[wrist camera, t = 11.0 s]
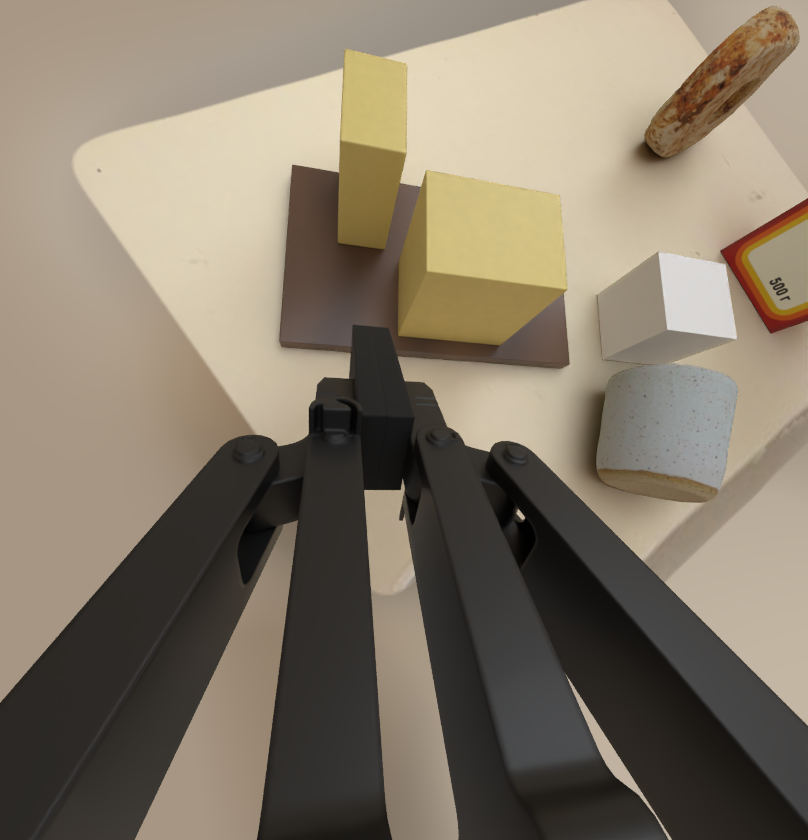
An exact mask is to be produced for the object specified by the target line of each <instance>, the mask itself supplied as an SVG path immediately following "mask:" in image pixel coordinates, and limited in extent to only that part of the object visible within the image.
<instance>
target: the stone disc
mask: <svg viewBox="0 0 808 840" xmlns="http://www.w3.org/2000/svg"><path fill="white" fill-rule="evenodd" d="M798 43H799V31H798V27H797V24H796V22H795V21H794V19H793V18H792V16H791V15H790V14H789V13H788V12H787V11H786V10H784V9H782V8H780V7H777V6H770V7H768V8H766V9H764V10H762V11H761V12H759V13H758V14H756V15H755V16H753V17H752V18H751V19H749V20H748V21H747V22H746V23H745V24H743V25H742V26H740V27H739V28H738V29H737V30H736V31H734V32H733V33H732V34H731V35H730V36H729V37H728V38H727V39H726V40H725V41H724V42H723V43H722V44H720V46H718V47H717V48H716V49H715V50H714V51H713V52H712V53H711V54H710V55H709V56H708V57H707V58H706V59H705V60H704V61H703V62H702V63H701V64H700V65H699V66H698V67H697V68H696V69H695V71H694V72H693V73H692V74H691V75H690V76H689V77H688V78H687V79H686V81H685V82H684V83H683V84H682V86H681V87H680V88H679V89H678V90H677V91H676V92H675V93H674V94H673V95H672V96H671V97H670V98H669V99H668V100H667V101H666V102H665V103H664V104H663V106H662V107H661V108H660V109H659V110H658V112H657V113H656V115H655V116H654V117H653V119H652V120H651V124H650V125H649V127H648V128H647V130H646V132H645V140H646V142H647V144H648V145H649V146H650V147H651V148H652V150H653V151H654V152H655V153H657V154H658V155H659V156H661V157H670V156H673V155H675V154H677V153H680V152H682V151H683V150H685V149H687V148H688V147H690V146H692V145H693V144H695V143H696V142H698V141H699V140H701V139H702V138H704V137H705V136H706V135H707V134H709V133H710V132H711V131H712V130H713V129H714V128H715V127H717V126H718V125H719V124H721V123H722V122H723V121H724V120H725V119H727V118H728V117H729V116H730V115H731V114H733V113H734V111H735V110H736V109H737V108H738V107H739V106H740V105H741V104H743V103H744V102H745V101H746V100H747V99H748V98H749V97H750V96H751V95H752V94H753V93H754V92H755V91H756V90H757V89H758V88H759V87H760V86H761V84H762V83H763V82H764V81H765V80H766V79H767V78H768V77H769V76H770V74H771V73H772V72H773V71H774V70H775V69H776V68H777V67H778V66H779V65H780V64H781V63H782V62H783V61H784V60H785V59H786V58H787V57H788V56H789V55H790V54H791V53H792V52H793V51H794V50H795V48H796V47H797V45H798Z"/></svg>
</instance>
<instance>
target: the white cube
mask: <svg viewBox="0 0 808 840" xmlns="http://www.w3.org/2000/svg"><path fill="white" fill-rule="evenodd" d="M597 297H598V310H599V323H600V336H601V349H602V359H603V360H612V361H621V362H629V363H638V364H647V365H657V364H660V365H666V364H669V363H672V362H674V361H677V360H680V359H683V358H686V357H688V356H691V355H694V354H697V353H700V352H702V351H705V350H708V349H711V348H714V347H717V346H719V345H722V344H725V343H728V342H731V341H733V340H736V339H737V335H736V329H735V323H734V316H733V310H732V303H731V297H730V290H729V284H728V277H727V271H726V264H722V263H716V262H711V261H706V260H700V259H695V258H690V257H684V256H679V255H674V254H668V253H663V252H657V253H656V254H654V255H653V256H651V257H650V258H649V259H647V260H646V261H644V262H643V263H642V264H640V265H639V266H637V267H636V268H635V269H633V270H632V271H630V272H629V273H628V274H626V275H625V276H623V277H622V278H621V279H619V280H618V281H616V282H615V283H613V284H612V285H611V286H609V287H608V288H606V289H605V290H604V291H602V292H601V293H599V294H598V295H597Z"/></svg>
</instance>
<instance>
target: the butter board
mask: <svg viewBox="0 0 808 840" xmlns="http://www.w3.org/2000/svg"><path fill="white" fill-rule="evenodd" d="M420 189H421V187H418V186H412V185H406V184H401V183H400V184H399V189H398V193H397V198H396V202H395V206H394V211H393V215H392V220H391V224H390V229H389V233H388V238H387V242H386V247H385V249H377V248H370V247H363V246H356V245H349V244H341V243H338V205H339V173H338V172H332V171H326V170H320V169H315V168H309V167H303V166H298V165H292V175H291V189H290V202H289V216H288V230H287V243H286V257H285V271H284V284H283V298H282V312H281V325H280V339H279V341H280V344H281V346H282V347H292V348H305V349H318V350H331V351H344V352H351V343H352V328H353V325H363V326H374V327H385V328H389V330H390V333H391V337H392V340H393V344H394V347H395V351H396V354H397V356H409V357H422V358H435V359H448V360H461V361H474V362H487V363H500V364H513V365H526V366H539V367H552V368H563V367H565V366H567V365H569V352H568V340H567V328H566V317H565V305H564V293H563V294H562V295H561V296H559V297H558V298H557V299H556V300H555V301H553V302H552V303H551V304H550V305H548V306H547V307H546V308H545V309H544V310H542V311H541V312H540V313H539V314H538V315H536V316H535V317H534V318H533V319H532V320H530V321H529V322H528V323H527V324H525V325H524V326H523V327H522V328H521V329H519V330H518V331H517V332H516V333H515V334H513V335H512V336H511V337H510V338H508V339H507V340H506V341H505V342H504V343H502V344H501V345H491V344H480V343H469V342H458V341H447V340H437V339H426V338H415V337H404V336H398V283H399V259H400V256H401V253H402V249H403V246H404V243H405V239H406V236H407V233H408V229H409V226H410V223H411V219H412V216H413V213H414V209H415V206H416V203H417V199H418V196H419V193H420Z"/></svg>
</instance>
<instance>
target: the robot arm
mask: <svg viewBox="0 0 808 840" xmlns="http://www.w3.org/2000/svg"><path fill="white" fill-rule="evenodd" d="M435 399H436V398H435V396H434V393H433V391H432V389H430V388H429V387H428V386H427V385H426V384H425V383H422V382H407V381H404V378H403V375H402V371H401V368H400V364H399V361H398V357H397V354H396V351H395V347H394V344H393V340H392V337H391V333H390V330H389V328H385V327H374V326H363V325H353V328H352V343H351V358H350V373H349V379H342V378H326V377H324V378H323V379H322V380H321V381H320V382H319V383H318V384H317V392H316V400H315V401H313V402H312V403H311V405H310V407H309V434H308V436H307V437H305V438H304V439H302V440H300V441H298V442H296V443H293V444H289V445H284V446H279V447H278V446H277V443H275V442H274V441H273V440H272V439H271V438H268V437H265V436H262V435H246V436H241V437H237V438H235V439H233V440H230V441H228V442H227V443H226V444H224V445H223V446H222V447H221V448H220V449H219V450H218V451H217V452H216V454H215V455H214V456H213V457H212V458H211V459H210V461H209V462H208V463H207V464H206V465H205V466H204V467H203V469H202V470H201V471H200V472H199V473H198V474H197V476H196V477H195V478H194V479H193V480H192V481H191V483H190V484H189V485H188V486H187V487H186V488H185V490H184V491H183V492H182V493H181V494H180V495H179V496H178V498H177V499H176V500H175V501H174V502H173V503H172V505H171V506H170V507H169V508H168V509H167V510H166V512H165V513H164V514H163V515H162V516H161V517H160V519H159V520H158V521H157V522H156V523H155V524H154V525H153V527H152V528H151V529H150V530H149V531H148V532H147V534H146V535H145V536H144V537H143V538H142V539H141V541H140V542H139V543H138V544H137V545H136V546H135V547H134V549H133V550H132V551H131V552H130V553H129V554H128V556H127V557H126V558H125V559H124V560H123V561H122V562H121V564H120V565H119V566H118V567H117V568H116V569H115V571H114V572H113V573H112V574H111V575H110V576H109V578H108V579H107V580H106V581H105V582H104V583H103V585H102V586H101V587H100V588H99V589H98V590H97V592H96V593H95V594H94V595H93V596H92V597H91V599H90V600H89V601H88V602H87V603H86V604H85V605H84V607H83V608H82V609H81V610H80V611H79V612H78V613H77V615H76V616H75V617H74V618H73V619H72V621H71V622H70V623H69V624H68V625H67V626H66V627H65V629H64V630H63V631H62V632H61V633H60V634H59V636H58V637H57V638H56V639H55V640H54V641H53V643H52V644H51V645H50V646H49V647H48V648H47V650H46V651H45V652H44V653H43V654H42V655H41V656H40V658H39V659H38V660H37V661H36V662H35V663H34V664H33V666H32V667H31V668H30V669H29V670H28V671H27V673H26V674H25V675H24V676H23V677H22V678H21V680H20V681H19V682H18V683H17V684H16V685H15V687H14V688H13V689H12V690H11V691H10V692H9V694H8V695H7V696H6V697H5V698H4V699H3V700H2V702H1V703H0V840H135V838H136V835H137V833H138V831H139V829H140V827H141V825H142V823H143V820H144V819H145V817H146V814H147V812H148V810H149V808H150V806H151V804H152V802H153V800H154V798H155V795H156V793H157V791H158V789H159V787H160V785H161V782H162V781H163V779H164V776H165V774H166V772H167V770H168V768H169V766H170V764H171V762H172V760H173V758H174V755H175V753H176V751H177V749H178V747H179V745H180V743H181V741H182V738H183V736H184V734H185V732H186V730H187V728H188V726H189V724H190V722H191V720H192V717H193V716H194V713H195V711H196V709H197V707H198V705H199V703H200V701H201V699H202V697H203V695H204V692H205V690H206V688H207V686H208V684H209V682H210V680H211V678H212V676H213V673H214V671H215V669H216V667H217V665H218V663H219V661H220V659H221V657H222V654H223V652H224V650H225V648H226V646H227V644H228V642H229V640H230V638H231V636H232V633H233V631H234V629H235V627H236V625H237V623H238V621H239V619H240V616H241V615H242V612H243V610H244V608H245V606H246V604H247V602H248V600H249V598H250V595H251V593H252V591H253V589H254V587H255V585H256V583H257V581H258V579H259V577H260V575H261V572H262V570H263V568H264V566H265V564H266V562H267V560H268V558H269V556H270V554H271V551H272V549H273V547H274V545H275V543H276V541H277V539H278V536H279V535H280V533H281V530H282V527H283V524H286V523H290V522H293V521H297V520H298V526H297V534H296V542H295V550H294V557H293V565H292V573H291V581H290V589H289V597H288V605H287V613H286V620H285V629H284V636H283V645H282V652H281V660H280V668H279V676H278V684H277V692H276V700H275V707H274V715H273V723H272V731H271V739H270V747H269V755H268V763H267V771H266V778H265V787H264V795H263V802H262V810H261V817H260V824H259V831H258V836H257V840H392V837H391V833H390V828H389V824H388V819H387V812H386V805H385V792H384V778H383V766H382V765H383V763H382V749H381V734H380V719H379V704H378V689H377V675H376V660H375V646H374V631H373V616H372V601H371V586H370V571H369V556H368V542H367V527H366V512H365V497H364V490H401V484H402V479H403V481H404V486H405V491H404V496H403V501H402V506H401V510H400V517H399V520H403V517H404V513H405V519H406V525H407V531H408V536H409V542H410V548H411V553H412V559H413V565H414V571H415V576H416V582H417V587H418V594H419V599H420V605H421V611H422V616H423V622H424V628H425V634H426V640H427V645H428V651H429V656H430V662H431V668H432V674H433V679H434V685H435V691H436V697H437V703H438V708H439V714H440V720H441V726H442V731H443V737H444V743H445V749H446V754H447V759H448V766H449V771H450V777H451V783H452V789H453V794H454V800H455V806H456V812H457V819H458V830H459V839H458V840H668V838H667V836H666V834H665V833H664V831H663V829H662V827H661V826H660V824H659V822H658V820H657V819H656V817H655V815H654V814H653V813H652V812H651V810H650V809H649V808H648V807H647V805H646V804H645V803H644V802H643V800H642V799H641V798H640V796H639V795H638V794H636V793H635V792H634V791H633V790H631V789H630V788H628V787H627V786H626V785H625V784H623V783H622V782H621V781H619V780H618V779H617V778H616V777H615V776H614V775H613V774H612V772H611V771H610V770H609V768H608V767H607V766H606V764H605V762H604V760H603V758H602V756H601V754H600V752H599V750H598V748H597V745H596V743H595V741H594V739H593V736H592V734H591V732H590V730H589V727H588V725H587V723H586V720H585V718H584V716H583V714H582V711H581V709H580V707H579V704H578V702H577V700H576V697H575V695H574V693H573V691H572V688H571V686H570V684H569V681H568V679H567V677H566V675H567V676H568V678H569V679H570V681H571V682H572V684H573V686H574V687H575V689H576V690H577V692H578V693H579V695H580V697H581V698H582V699H583V701H584V703H585V704H586V706H587V707H588V709H589V710H590V712H591V714H592V715H593V716H594V718H595V720H596V721H597V723H598V725H599V726H600V728H601V729H602V731H603V732H604V734H605V736H606V737H607V739H608V740H609V742H610V743H611V745H612V746H613V748H614V750H615V751H616V753H617V754H618V756H619V757H620V759H621V761H622V762H623V764H624V765H625V767H626V768H627V770H628V771H629V773H630V774H631V776H632V778H633V779H634V781H635V782H636V784H637V785H638V787H639V788H640V790H641V792H642V793H643V795H644V796H645V798H646V799H647V801H648V802H649V804H650V806H651V807H652V809H653V810H654V812H655V813H656V815H657V817H658V818H659V820H660V821H661V823H662V824H663V826H664V828H665V829H666V831H667V832H668V834H669V835H670V837H671V838H672V840H808V726H807V725H806V724H805V723H804V722H803V721H802V720H801V719H800V718H799V717H798V716H797V715H796V714H795V713H794V712H793V711H792V710H791V709H790V708H789V707H788V706H787V705H786V704H785V703H784V702H783V701H782V700H781V699H780V698H779V697H778V696H777V695H776V694H775V693H774V692H773V691H772V690H771V689H770V688H769V687H768V686H767V685H766V684H765V683H764V682H763V681H762V680H761V679H760V678H759V677H758V676H757V675H756V674H755V673H754V672H753V671H752V670H751V669H750V668H749V667H748V666H747V665H746V664H745V663H744V662H743V661H742V660H741V659H740V658H739V657H738V656H737V655H736V654H735V653H734V652H733V651H732V650H731V649H730V648H729V647H728V646H727V645H726V644H725V643H724V642H723V641H722V640H721V639H720V638H719V637H718V636H717V635H716V634H715V633H714V632H713V631H712V630H711V629H710V628H709V627H708V626H707V625H706V624H705V623H704V622H703V621H702V620H701V619H700V618H699V617H698V616H697V615H696V614H695V613H694V612H693V611H692V610H691V609H690V608H689V607H688V606H687V605H686V604H685V603H684V602H683V601H682V600H681V599H680V598H679V597H678V596H677V595H676V594H675V593H674V592H673V591H672V590H671V589H670V588H669V587H668V586H667V585H666V584H665V583H664V582H663V581H662V580H661V579H660V578H659V577H658V576H657V575H656V574H655V573H654V572H653V571H652V570H651V569H650V568H649V567H648V566H647V565H646V564H645V563H644V562H643V561H642V560H641V559H640V558H639V557H638V556H637V555H636V554H635V553H634V552H633V551H632V550H631V549H630V548H629V547H628V546H627V545H626V544H625V543H624V542H623V541H622V540H621V539H620V538H619V537H618V536H617V535H616V534H615V533H614V532H613V531H612V530H611V529H610V528H609V527H608V526H607V525H606V524H605V523H604V522H603V521H602V520H601V519H600V518H599V517H598V516H597V515H596V514H595V513H594V512H593V511H592V510H591V509H590V508H589V507H588V506H587V505H586V504H585V503H584V502H583V501H582V500H581V499H580V498H579V497H578V496H577V495H576V494H575V493H574V492H573V491H572V490H571V489H570V488H569V487H568V486H567V485H566V484H565V483H564V482H563V481H562V480H561V479H560V478H559V477H558V476H557V475H556V474H555V473H554V472H553V471H552V470H551V469H550V468H549V467H548V466H547V465H546V464H545V463H544V462H542V461H541V460H540V459H539V458H538V457H537V456H536V455H535V454H534V453H533V452H532V451H531V450H529V449H528V448H527V447H525V446H523V445H520V444H518V443H514V442H510V441H501V442H498V443H495V444H494V445H493V446H492V448H491V450H490V452H487V451H483V450H479V449H475V448H471V447H468V446H466V445H465V444H464V442H463V440H462V438H461V437H460V435H459V434H458V433H457V432H455V431H454V430H453V429H451V428H448V427H447V425H446V423H445V420H444V418H443V416H442V413H441V411H440V408H439V407H438V403H437V401H436V400H435ZM518 509H519V510H520V511H521V512H522V514H523V515H524V516H525V519H524V520H522V519H521V518H520V517H519V516H518V515H517V514H516V513H517V511H518ZM565 673H566V675H565Z"/></svg>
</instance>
